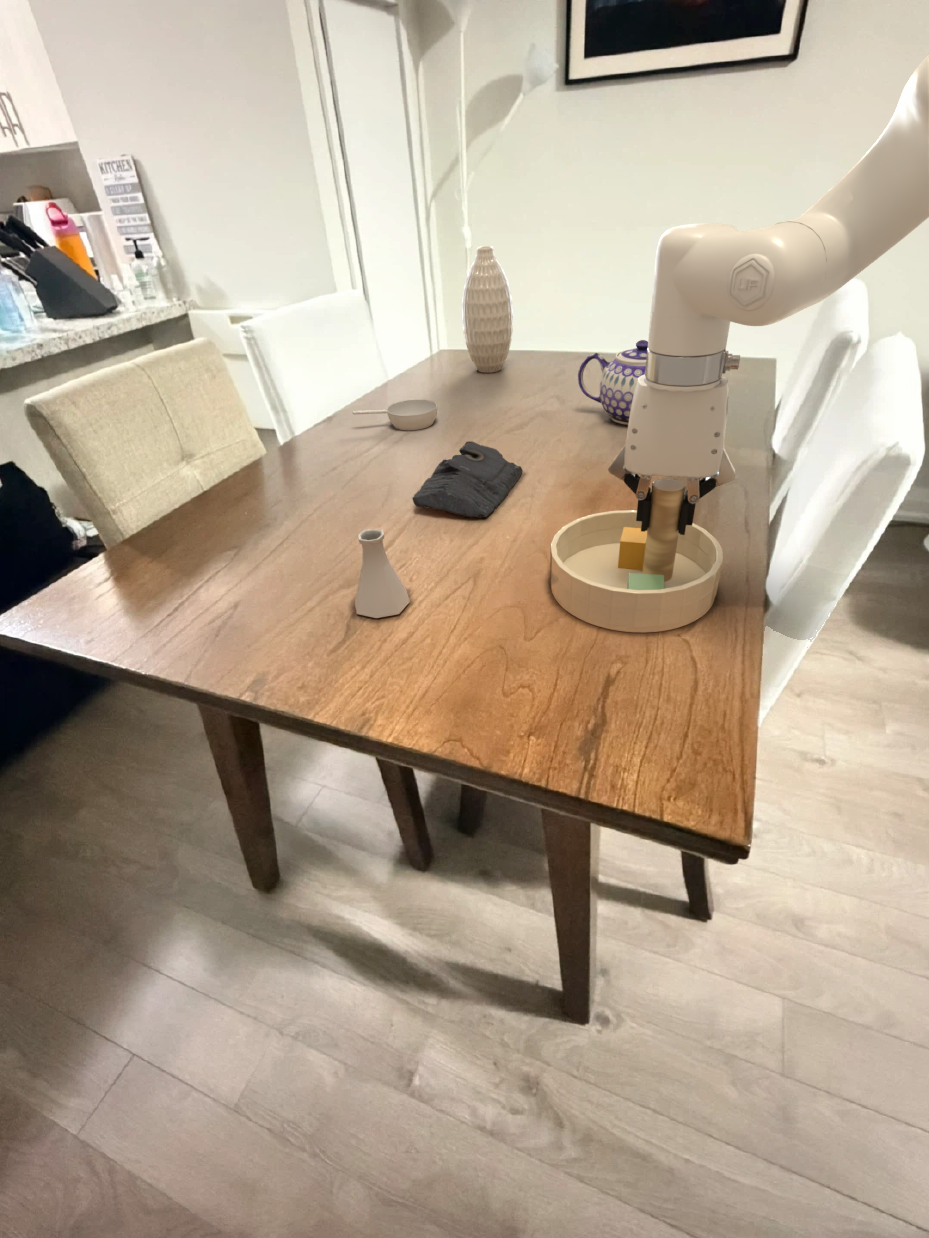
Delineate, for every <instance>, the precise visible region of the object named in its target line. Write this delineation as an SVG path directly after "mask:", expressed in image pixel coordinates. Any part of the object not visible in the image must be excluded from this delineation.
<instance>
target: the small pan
mask: <svg viewBox="0 0 929 1238" xmlns="http://www.w3.org/2000/svg"><path fill="white" fill-rule="evenodd" d="M351 414H352V415H354V416H356V415H376V414H377V415H378V414H379V415H380V414H387V417H388V420H389V421H390V423H391V424H392V425H393V427H394V428H395V429H397V430H401V431H419V430H423V429H426V428H429V427H431V426H432V425H433V424H434V421H435V420H436V418H437V415H438V404H437V403H436V402H435V401H433V400H429V399H421V398H420V399H417V398H416V399H406V400H401V401H398V402H394V403H392V404H390V405H389V406H387V408H386V409H368V410H367V409H366V410H352V413H351Z"/></svg>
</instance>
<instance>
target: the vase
mask: <svg viewBox="0 0 929 1238" xmlns="http://www.w3.org/2000/svg"><path fill="white" fill-rule="evenodd" d="M513 309H514V308H513V298H512V292H511V289H510V284H509V281H508V277H507V275H506V274H505V271H504V269H503V268H502V265H501V263H500V262H499V261H498V259H497V257H496V255H495V252H494V247H493V246H489V245H488V246H487V245H485V246H479V247H477V248H476V254H475V257H474V260H473V262H472V264H471V265H470V268H469V270H468V273H467V275H466V278H465V281H464V285H463V291H462V299H461V319H462V320H461V321H462V330H463V331H462V332H463V337H464V340H465V341H464V342H465V346H466V349H467V351H468V354H469V356H470V359H471V361H472V363H473V364H474V366H475V368H476V369H477V371H478V372H479V373H482V374H483V373H486V374H487V373H488V374H489V373H490V374H491V373H497V372H500V371H501V370H502V368H503V367H504V364H505V362H506V360H507V358H508V354H509V353H510V352H509V351H510V348H511V343H512V339H513V327H514V310H513Z"/></svg>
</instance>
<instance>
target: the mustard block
mask: <svg viewBox="0 0 929 1238" xmlns="http://www.w3.org/2000/svg"><path fill="white" fill-rule="evenodd" d="M646 536H647V531H645V532H643V531H641V528H632V527H624V529H623V533H622V536H621V540H620V550H619V561H618V568H625V569H634V570H643V563H644V554H645V545H646Z"/></svg>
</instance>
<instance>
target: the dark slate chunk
mask: <svg viewBox="0 0 929 1238" xmlns="http://www.w3.org/2000/svg"><path fill="white" fill-rule="evenodd" d="M458 452H459V454H454V455H453V456H452V457H451V458H450V459H442V461H441V462H439V463H438V465H437V466H436V467H435V469H434V471H433V472H432V474H431V475H430V477H428V478H427V479H425V481H424V482H423V484H422V485H421V487H420V489H419V490H418V491H417V492H416V493H415V494H414V495H413V496H412V503H413V504H414V505H415V506H416V507H420V508H426V509H431V510H436V511H445V512H448V513H450V514H453V515H459V516H463V517H468V518H486V517H488V516H489V515H490V514H492V512H495V510H496V509H497V508H498V506H500V504H501V503H502V502H504V499H505V498H507V496H508V494H509V493H510V492H511V490H512V489H513V487H514V486H515V484H516V483H517V482H518V481H519V479H521V476H522V474H523V471H524V470H523V468H522V466H521V465H517V464H516V463H515V462H510V461H508V460H506V459H505V457H504V456H503V454H502V453H501V452H500V451H499V450H498V449H496V448H493V447H490V446H486V445H482V444H479V443H477V442H474V441H473V440H472V441H471V440H468V441H466V442H465V443H464V445H462V447H460V448H459V451H458Z"/></svg>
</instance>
